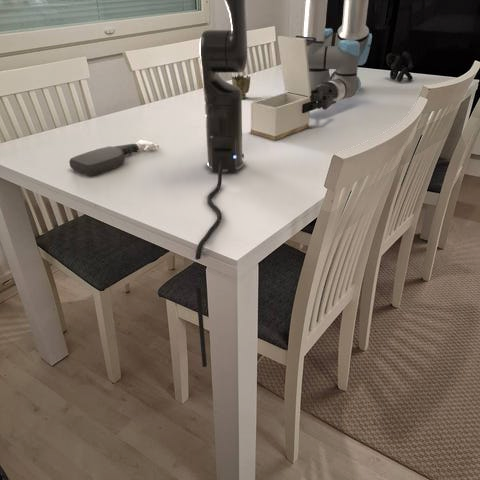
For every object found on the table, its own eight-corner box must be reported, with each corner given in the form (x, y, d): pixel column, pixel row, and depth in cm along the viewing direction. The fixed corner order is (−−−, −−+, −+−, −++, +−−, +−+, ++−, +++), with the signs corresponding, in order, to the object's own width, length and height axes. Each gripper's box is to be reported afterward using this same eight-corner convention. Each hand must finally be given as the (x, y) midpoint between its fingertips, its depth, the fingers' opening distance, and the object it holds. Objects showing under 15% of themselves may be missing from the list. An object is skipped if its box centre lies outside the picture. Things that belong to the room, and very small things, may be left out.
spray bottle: (67, 168, 120) (139, 144, 136) (91, 178, 114) (163, 151, 130) (65, 157, 118) (137, 134, 134) (89, 167, 112) (162, 142, 128)
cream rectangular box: (275, 140, 136) (275, 108, 131) (250, 133, 142) (250, 102, 137) (308, 127, 146) (310, 97, 141) (284, 121, 152) (285, 92, 147)
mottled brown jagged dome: (228, 98, 178) (228, 78, 173) (237, 94, 183) (237, 74, 179) (245, 101, 175) (245, 79, 170) (253, 96, 180) (253, 75, 176)
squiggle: (400, 92, 202) (376, 71, 205) (417, 76, 202) (392, 56, 205) (405, 81, 191) (380, 59, 194) (423, 64, 191) (397, 42, 194)
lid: (304, 39, 129) (320, 29, 132) (277, 36, 135) (293, 27, 139) (309, 96, 141) (324, 85, 144) (284, 91, 147) (299, 81, 150)
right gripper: (356, 109, 152) (317, 124, 138) (303, 97, 165) (263, 110, 152) (359, 86, 148) (319, 99, 134) (304, 76, 161) (263, 88, 148)
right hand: (289, 105), depth 143 cm, fingers closed on cream rectangular box, 10 cm apart
